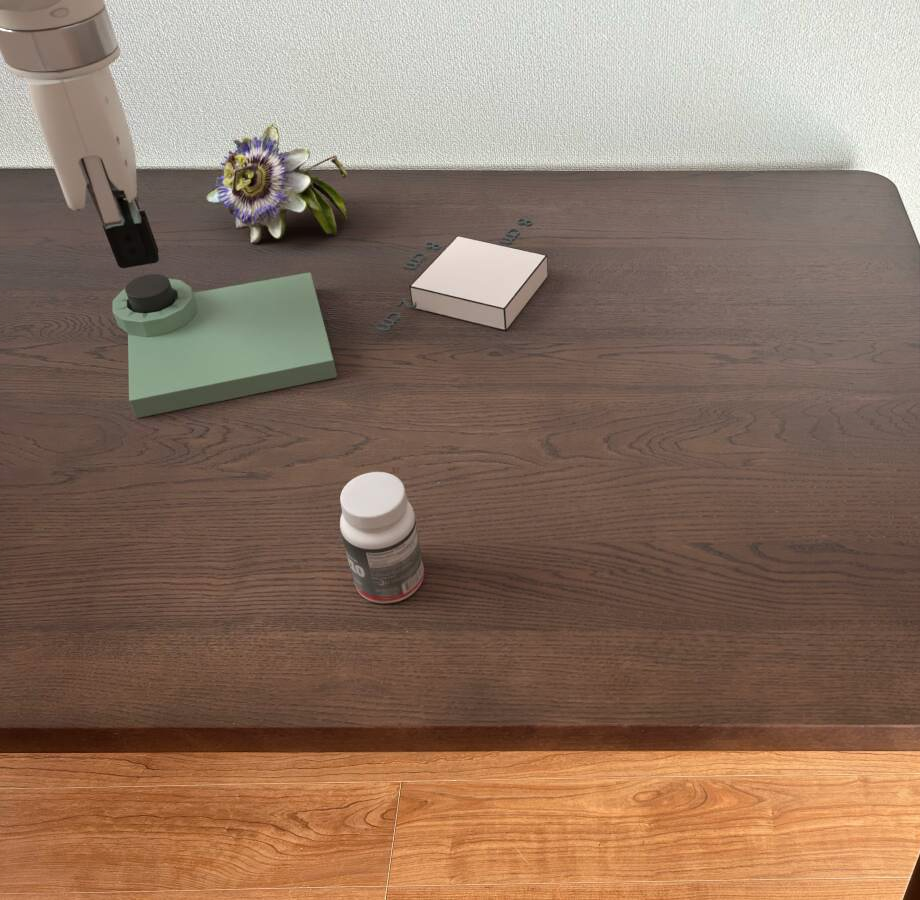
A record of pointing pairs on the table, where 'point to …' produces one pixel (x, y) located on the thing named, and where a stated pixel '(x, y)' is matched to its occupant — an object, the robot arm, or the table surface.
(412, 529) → the pill bottle
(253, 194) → the passion flower
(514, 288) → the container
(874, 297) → the table surface
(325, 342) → the scale
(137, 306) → the button
